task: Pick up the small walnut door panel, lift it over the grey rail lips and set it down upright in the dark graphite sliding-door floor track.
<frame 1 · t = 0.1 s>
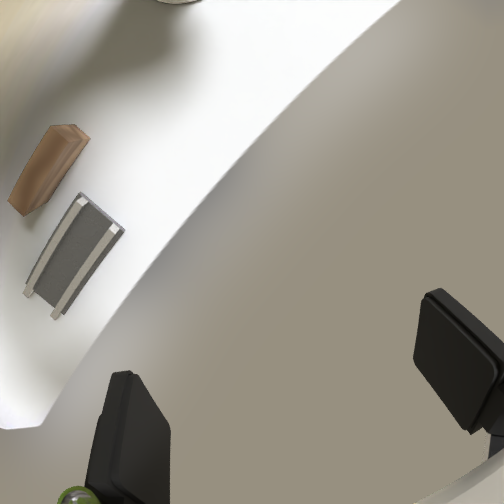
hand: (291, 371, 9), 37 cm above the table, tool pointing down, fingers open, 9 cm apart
door panel: (59, 163, 39), on the table
floor track: (70, 257, 44), on the table
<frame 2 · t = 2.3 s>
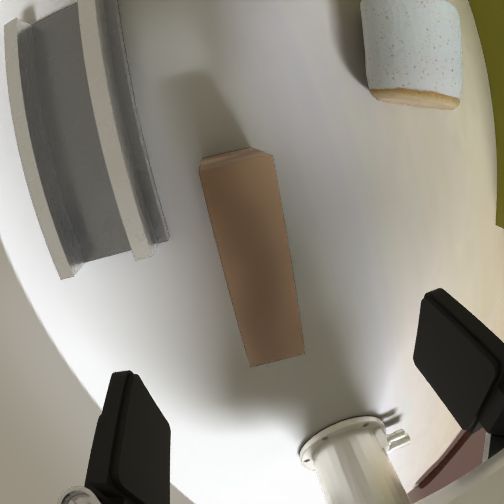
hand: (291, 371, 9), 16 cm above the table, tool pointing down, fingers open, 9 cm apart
ceramic mug: (400, 59, 20), on the table
door panel: (243, 230, 24), on the table
floor track: (80, 125, 19), on the table
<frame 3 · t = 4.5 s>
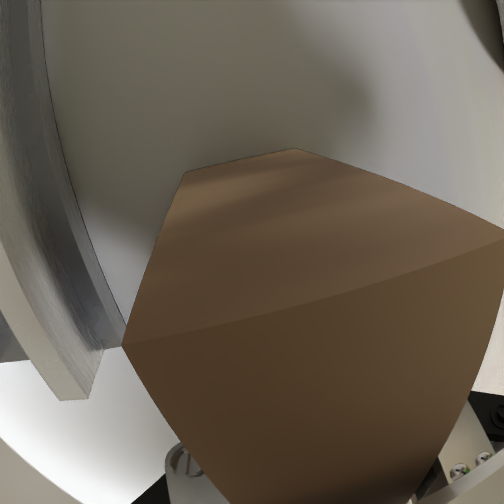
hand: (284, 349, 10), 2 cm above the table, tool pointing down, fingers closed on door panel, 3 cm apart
door panel: (273, 318, 12), on the table, touching gripper
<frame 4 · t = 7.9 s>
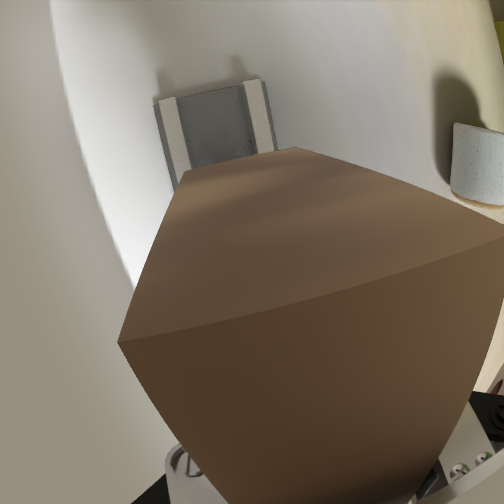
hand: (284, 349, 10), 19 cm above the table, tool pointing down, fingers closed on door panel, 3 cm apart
ceramic mug: (467, 157, 29), on the table
door panel: (273, 318, 12), point 17 cm above the table, touching gripper
floor track: (233, 205, 27), on the table
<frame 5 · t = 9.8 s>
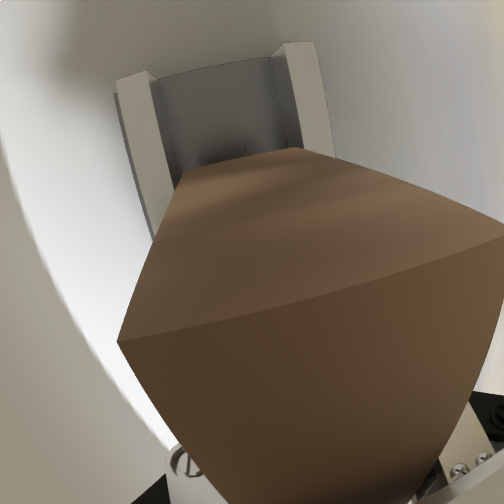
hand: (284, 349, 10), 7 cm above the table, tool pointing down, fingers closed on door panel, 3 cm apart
door panel: (273, 318, 12), point 5 cm above the table, touching gripper
floor track: (254, 264, 17), on the table
when the fingers open (4 cm above the table, at t = 11.2 s): door panel drops 1 cm, resting on floor track.
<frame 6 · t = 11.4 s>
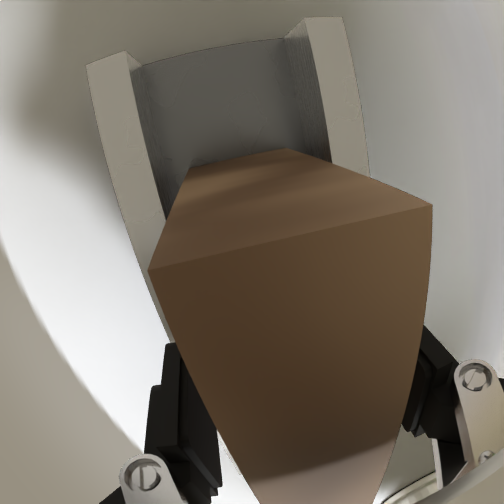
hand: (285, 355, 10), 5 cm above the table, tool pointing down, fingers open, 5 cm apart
door panel: (267, 301, 13), point 1 cm above the table, touching floor track
floor track: (262, 288, 14), on the table
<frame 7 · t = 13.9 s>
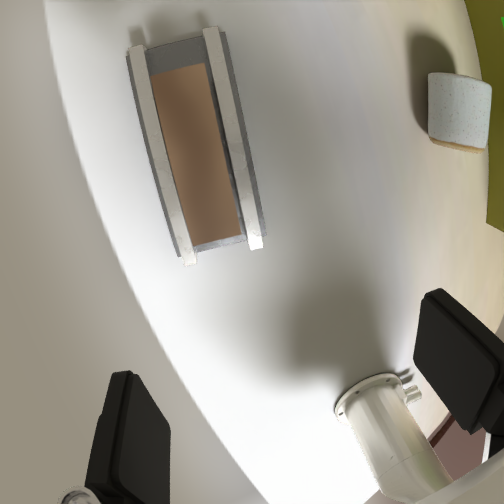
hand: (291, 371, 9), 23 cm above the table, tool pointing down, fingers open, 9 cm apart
ceramic mug: (445, 109, 29), on the table
door panel: (197, 146, 27), point 1 cm above the table, touching floor track
floor track: (197, 144, 28), on the table
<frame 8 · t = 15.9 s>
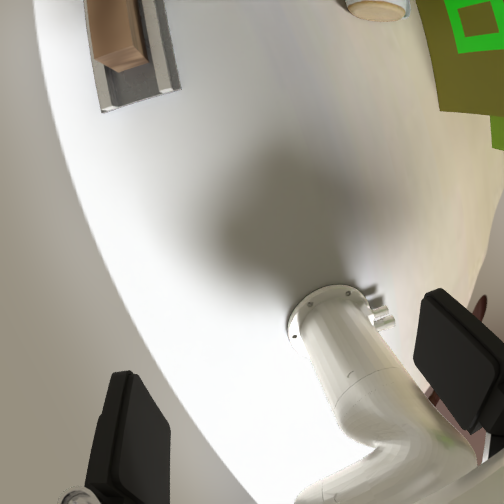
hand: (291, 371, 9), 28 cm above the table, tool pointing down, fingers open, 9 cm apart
door panel: (125, 21, 25), point 1 cm above the table, touching floor track
floor track: (127, 23, 26), on the table
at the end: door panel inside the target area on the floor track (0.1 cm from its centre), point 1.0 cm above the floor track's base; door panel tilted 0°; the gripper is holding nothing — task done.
